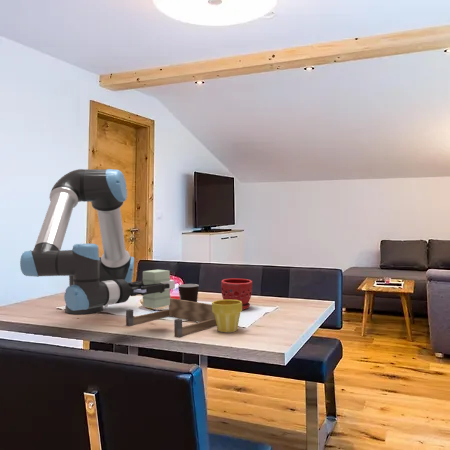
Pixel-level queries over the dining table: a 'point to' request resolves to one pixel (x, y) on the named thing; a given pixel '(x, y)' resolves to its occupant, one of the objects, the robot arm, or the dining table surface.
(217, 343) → the dining table surface
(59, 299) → the dining table surface
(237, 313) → the plant pot
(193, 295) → the coffee mug
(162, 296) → the pale green box
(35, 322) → the dining table surface
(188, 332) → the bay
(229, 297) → the plant pot
